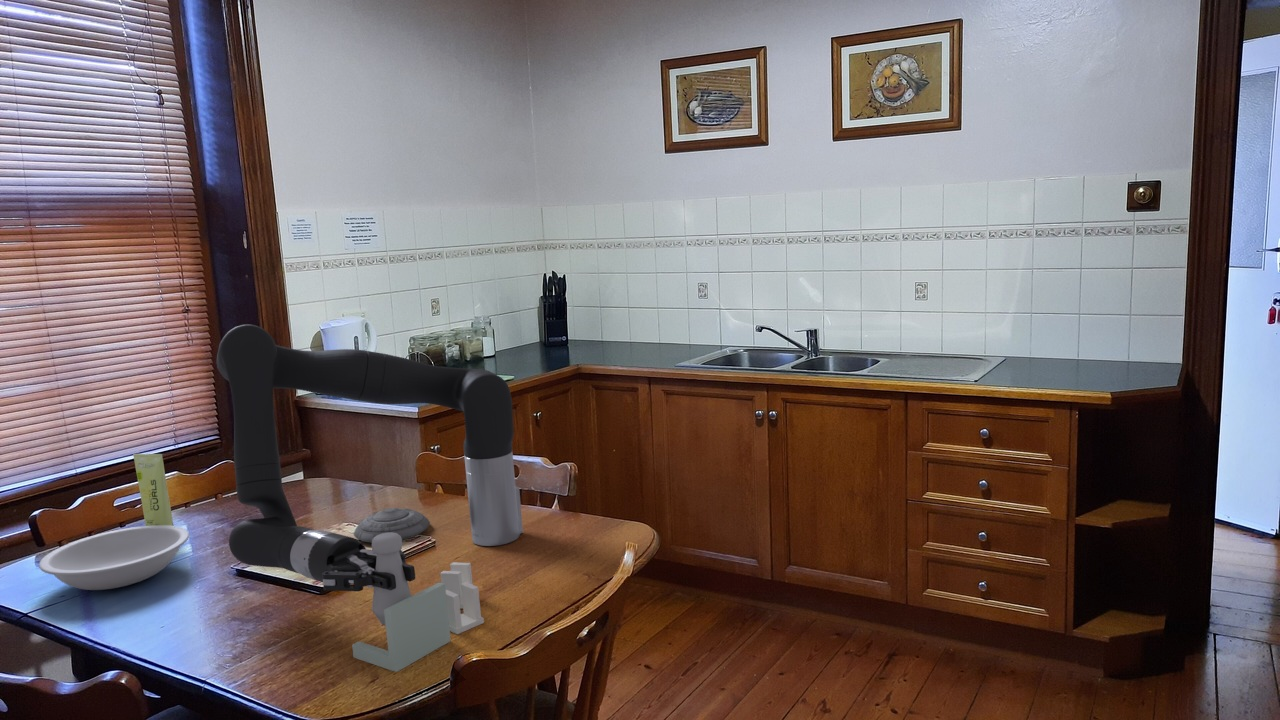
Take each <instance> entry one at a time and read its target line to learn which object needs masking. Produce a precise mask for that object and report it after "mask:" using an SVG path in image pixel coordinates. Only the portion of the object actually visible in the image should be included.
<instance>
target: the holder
mask: <svg viewBox="0 0 1280 720" xmlns="http://www.w3.org/2000/svg"><path fill="white" fill-rule="evenodd" d="M384 616H385V625H386V626H385V631H386V640H387V641H386V642H387V649H384V648H381V647H378V646H376V645H372V644H369V643H366V642H363V641H360V640H358V641H357V642H355V643H352V645H351V646H352V647H351V648H352V654H353V655H352V656H353V658H354V659H357V660H359V661H363V662H366V663H368V664H370V665H371V664H372V665H374V666H378V667H379V668H380V667H381V668H383V669H386V670H389V671H391V672H395V673H397V672H399V671H401V670H402V669H405V668H407V667H408V666H410V665H412V664H413V663H415V662H416V661H417V662H418V660H420V659H422V658H424V657H425V656H428V655H429V654H431V653H432V652H434V651H436V650H437V649H440V648H441V647H443V646H445V645H446V644H449V643H450V642H451V639H452V638H451V631H450V629H449V619H448V609H447V599H446V589H445V584H444V583H441V581H440V582H438V583H437V582H436V583H435V584H433V585H431V586H429V587H427V588H425V589H422V590H421V591H419V592H417V593H415V594H412V595H411V597H409V598H407V599H405V600H403V601H401V602H399V603H397V604H395V605H392V606H390V607H388V608H386V609H384Z"/></svg>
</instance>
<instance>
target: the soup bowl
mask: <svg viewBox="0 0 1280 720" xmlns="http://www.w3.org/2000/svg"><path fill="white" fill-rule="evenodd" d="M189 537H190V532H189V531H188V529H186V528H183V527H181V526H178V525H177V526H176V525H174V526H169V525H152V526H146V525H142V526H133V527H127V528H120V529H115V530H111V531H106V532H102V533H98V534H93V535H91V536H87V537H84V538H80V539H78V540H75V541H72V542H70V543H67V544H65V545H62V546H60V547H58V548H56V549H54V550H52V551H50V552H49V553H47V554H46V555H45V556H43V557H42V559H41V560H40V561H39V564H38V568H39V569H40V571H42V572H44V573H45V574H48V575H53V576H54V577H55V578H56V579H58V580H59V581H60V582H62V583H64V584H65V585H67V586H69V587H73V588H76V589H79V590H85V591H88V590H89V591H104V590H112V589H118V588H123V587H127V586H129V585H133V584H136V583H137V584H138V583H140V582H142V581H144V580H146V579H149V578H151V577H153V576H155V575H157V574H158V573H160V572H161V571H162V570H164V569H165V568H166V567H167V566H168V565H169V564H171V562H172V561H173V560H174V558H175V557H176V555H177V554H178V552H179V549H180V547H182V546H183V545H184V544H185V543H187V541H188V540H189Z"/></svg>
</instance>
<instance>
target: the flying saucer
mask: <svg viewBox="0 0 1280 720" xmlns="http://www.w3.org/2000/svg"><path fill="white" fill-rule="evenodd" d="M430 522H431V521H429V519H428V517H426V516H425V515H424V514H423V513H421V512H420V511H417V510H413V509H411V508H410V509H409V508H399V507H389V508H384V509H382V510H380V511H377V512H374V513H372V514H370V515H369V516H367V517H365V518H364V519H363V520H362V521H361V522H359V524H358V525H357V527H356V528H355V530H354V532H353V536H354V538H355V539H357V540H359V541H360V542H361V541H362V542H365V543H371V544H372V539H373V538H374V537H375V536H377V535H379V534H382V533H390V532H393V533H397V534H399V535H400V536H401V538H402V541H403V540H407V539H410V538H413V537H416V536H417V535H419V534H421V533H423V532H424V531H426V530H427V529H428V528H429V527H430V525H431V523H430Z"/></svg>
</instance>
